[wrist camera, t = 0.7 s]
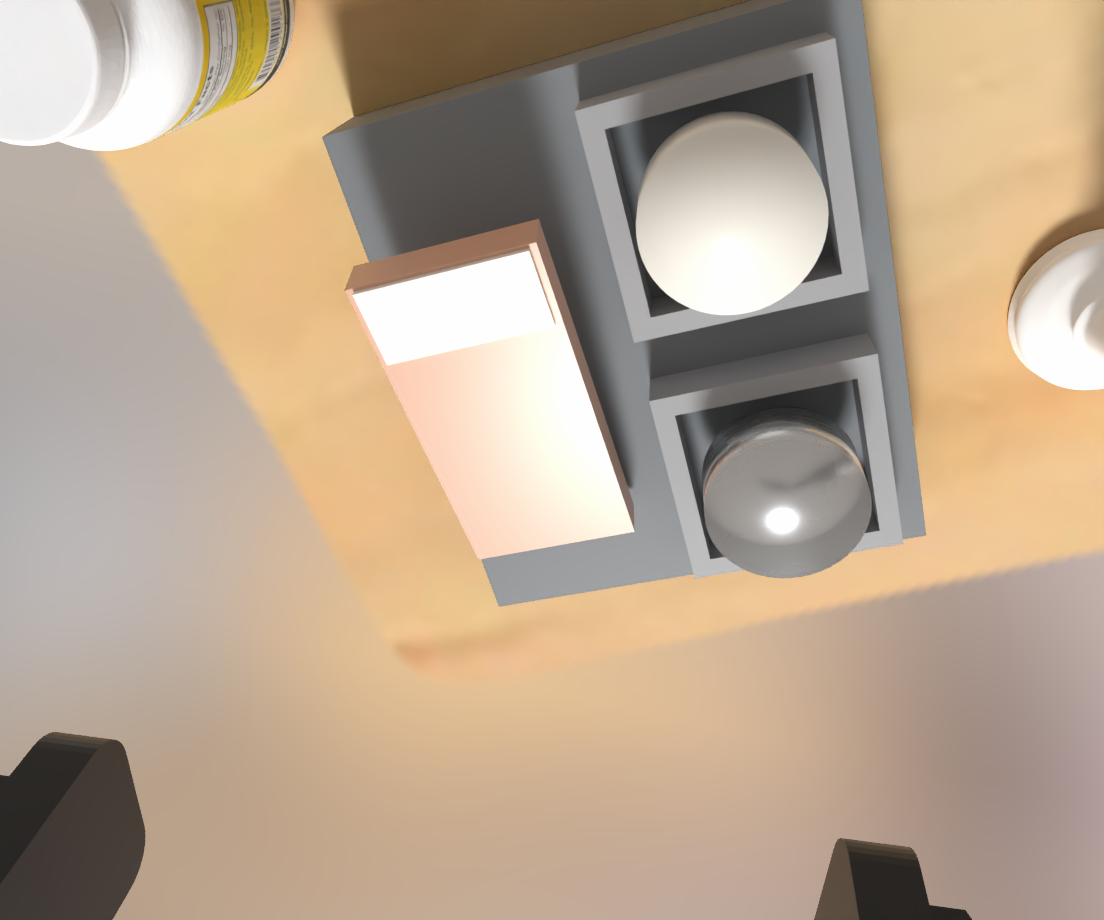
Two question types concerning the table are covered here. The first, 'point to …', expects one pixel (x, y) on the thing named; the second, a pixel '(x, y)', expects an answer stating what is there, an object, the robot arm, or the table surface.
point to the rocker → (497, 388)
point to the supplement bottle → (131, 66)
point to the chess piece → (1063, 314)
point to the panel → (623, 281)
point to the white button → (730, 214)
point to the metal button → (784, 492)
